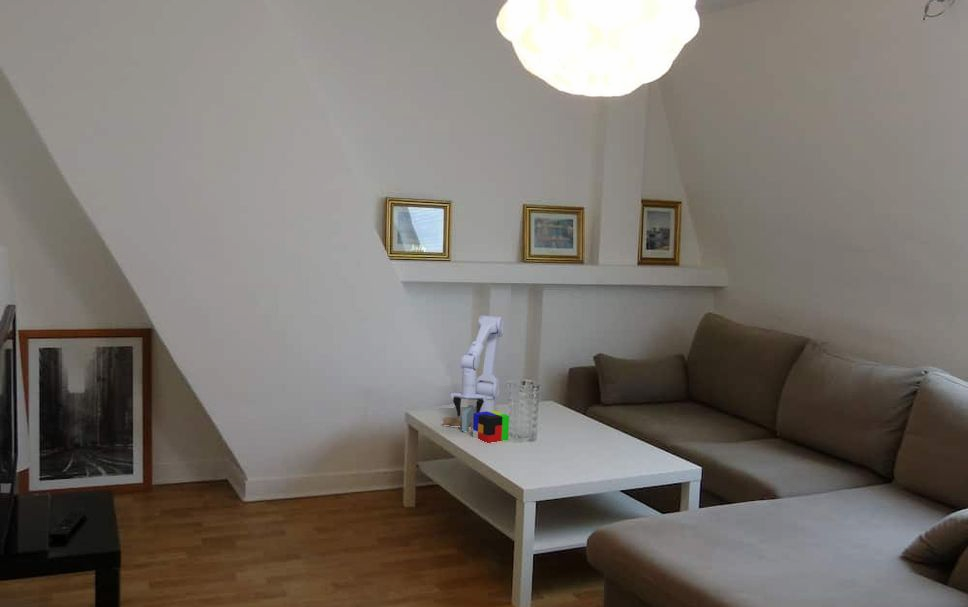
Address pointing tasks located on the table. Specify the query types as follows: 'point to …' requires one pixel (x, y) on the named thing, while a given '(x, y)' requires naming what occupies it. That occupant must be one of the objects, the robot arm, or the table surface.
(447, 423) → the walnut slotted plate
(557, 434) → the table surface
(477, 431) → the puzzle toy
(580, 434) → the table surface
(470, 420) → the teal slotted plate
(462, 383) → the robot arm
